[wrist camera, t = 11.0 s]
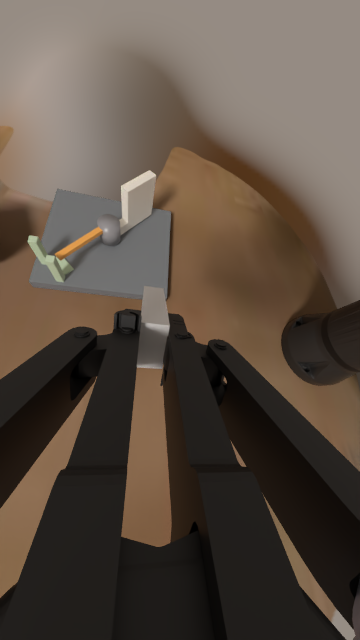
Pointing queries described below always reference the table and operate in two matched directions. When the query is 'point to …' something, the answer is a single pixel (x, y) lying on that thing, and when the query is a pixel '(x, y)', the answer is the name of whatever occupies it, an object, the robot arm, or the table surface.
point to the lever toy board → (100, 250)
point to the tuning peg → (134, 211)
